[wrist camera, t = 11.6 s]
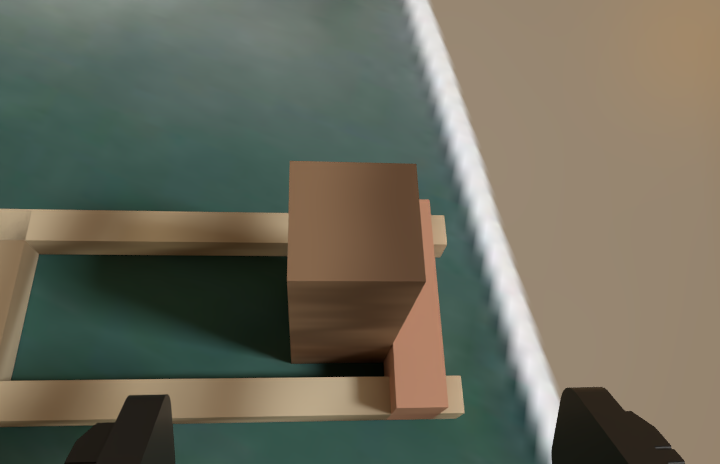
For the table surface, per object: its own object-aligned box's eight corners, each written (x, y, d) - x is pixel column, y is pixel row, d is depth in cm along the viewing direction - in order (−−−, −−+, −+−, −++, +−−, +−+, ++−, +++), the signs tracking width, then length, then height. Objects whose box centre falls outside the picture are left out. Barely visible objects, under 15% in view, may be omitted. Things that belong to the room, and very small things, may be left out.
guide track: (-53, 428, 23) (-99, 416, 21) (0, 223, 27) (-33, 191, 25) (455, 418, 25) (474, 406, 23) (437, 229, 29) (451, 200, 26)
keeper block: (291, 363, 26) (286, 281, 17) (293, 277, 27) (289, 160, 18) (382, 362, 26) (425, 281, 17) (378, 278, 28) (416, 163, 19)
